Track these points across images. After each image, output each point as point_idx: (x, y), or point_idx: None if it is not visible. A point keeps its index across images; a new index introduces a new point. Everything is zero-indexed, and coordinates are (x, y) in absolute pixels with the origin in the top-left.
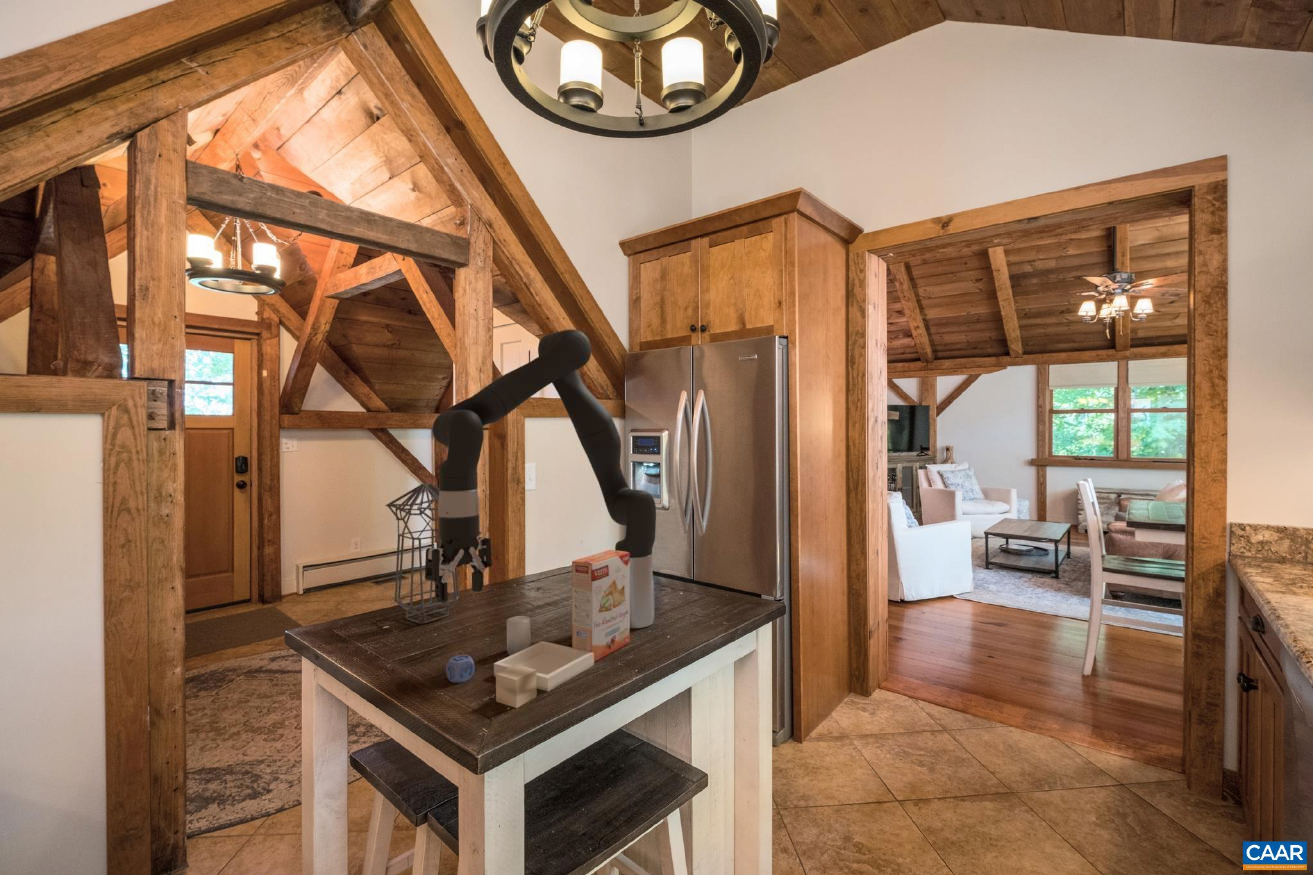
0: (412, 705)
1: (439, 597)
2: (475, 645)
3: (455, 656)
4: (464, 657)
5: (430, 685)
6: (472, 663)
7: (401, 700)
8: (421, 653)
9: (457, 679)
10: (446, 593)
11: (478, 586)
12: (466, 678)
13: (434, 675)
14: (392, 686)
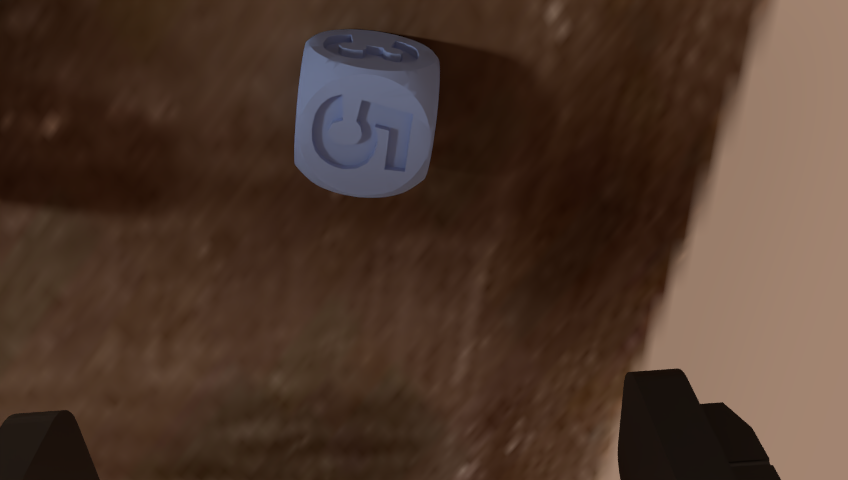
0: (733, 19)
1: (750, 440)
2: (51, 375)
3: (360, 188)
4: (336, 127)
5: (516, 149)
6: (320, 53)
7: (710, 119)
8: (297, 476)
9: (427, 47)
10: (681, 446)
11: (44, 470)
12: (370, 33)
13: (423, 234)
14: (613, 285)
